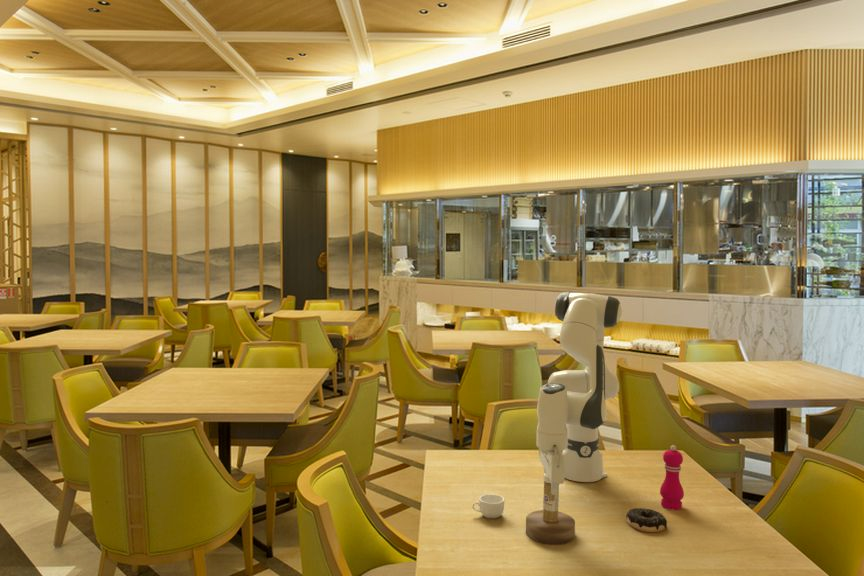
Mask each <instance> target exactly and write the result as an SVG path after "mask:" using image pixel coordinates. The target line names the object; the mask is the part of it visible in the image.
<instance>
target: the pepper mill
mask: <svg viewBox="0 0 864 576" xmlns="http://www.w3.org/2000/svg"><path fill="white" fill-rule="evenodd" d="M662 460H663V462H664V470H665V477H664V479H663V482H662V483H661V486H660V488H659V494H660V496H661V497H662V498H661V501H660V503H661V504H660V505H661V507H662V508H665V509H667V510H672V511H677V510H681V509H682V508H683V502H682V500H683V499H684V496H685V495H684V493H685V491H684V488H683V486H682V484H681V480H680V472H681V471H682V466H681V464H683V462H684V457H683V454H682V453H681V452H680V451H678V450H677V447H676V445H674V444H672V445H671V446H670V449H667V450H666V451H665V452H663V455H662Z"/></svg>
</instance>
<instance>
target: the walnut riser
mask: <svg viewBox="0 0 864 576" xmlns="http://www.w3.org/2000/svg"><path fill="white" fill-rule="evenodd" d="M525 534H526V536H527V537H528V538H529V539H531V540H533V541H534V542H538V543H540V544H545V545H554V546H555V545H557V546H558V545H565V544H568V543H571V542H572V541H573V540H574V539H575V535H576V520H575V519H574V518H573V516H571V515H569V514H567V513H565V512H561V511H558V521H556V522H552V523H551V522H546V521H544V520H543V509H542V510H541V509H540V510H536V511H532V512H530V513H528V514H527V515H526V517H525Z"/></svg>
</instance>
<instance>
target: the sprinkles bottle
mask: <svg viewBox="0 0 864 576" xmlns="http://www.w3.org/2000/svg"><path fill="white" fill-rule="evenodd" d="M542 478H543V498H542V499H543V500H542V510H543V520H544V521H546V522H551V523H552V522H556V521H558V512H559V503H560V502H559V501H560V500H559V495H560V494H559V492H560V491H559V488H560V486H559V487H558V494H557V495H552V494H551V481H550V479H549V477H548V475H547V473H544V474H543V477H542Z"/></svg>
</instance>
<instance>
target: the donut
mask: <svg viewBox="0 0 864 576" xmlns="http://www.w3.org/2000/svg"><path fill="white" fill-rule="evenodd" d="M625 517H626V519H625V520H626V522H627V523H628V525H630V526H631V527H632V528H634V529H636V530H639V531H641V532H645V533H659V532H662V531H664V530H667V527H668V520H667V519H666V517H665V516H664V514H663V513H661V512H659V511H657V510H654V509H649V508H645V507H643V508H641V507H640V508H637V507H635V508H630V509H629V510H628V511H627V512H626V516H625Z"/></svg>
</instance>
